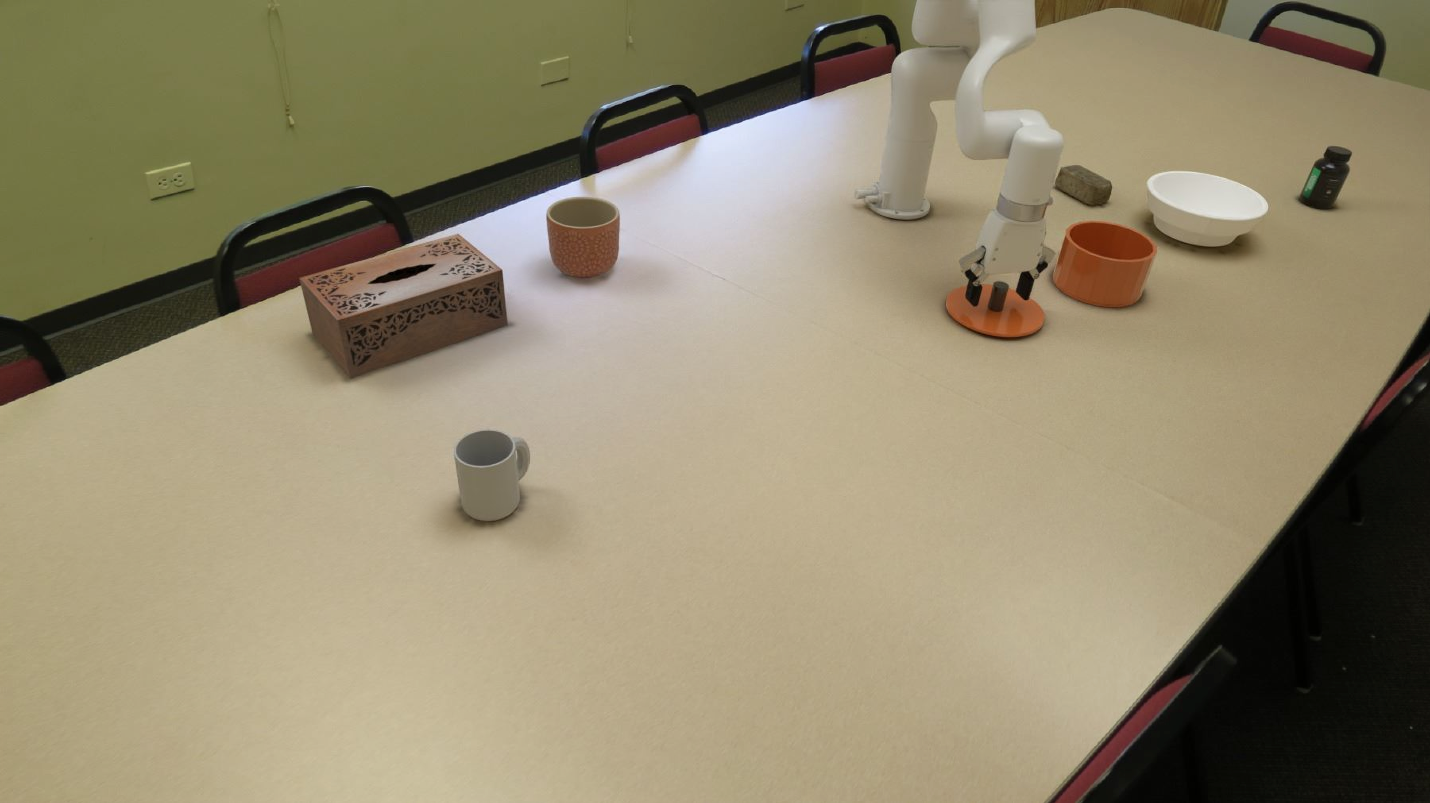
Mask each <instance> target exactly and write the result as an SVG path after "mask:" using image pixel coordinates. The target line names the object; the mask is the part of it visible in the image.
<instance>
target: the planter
mask: <svg viewBox="0 0 1430 803" xmlns="http://www.w3.org/2000/svg"><path fill="white" fill-rule="evenodd" d="M545 214H546V216H545V218H546V229H547V230H546V231H547V238H548V239H547V240H548V249H549V254H550V259H551V261H552V263H553V265H554V266H555V268H557V269H558V270H559V271H560V272H562V273H563V274H565V275H567V276H569V277H572V278H577V279H593V278H594V279H595V278H597V277H600V276H602V275H605V274H606V273H607V272H609V271H610V270H611V269H612V268H613V267H615V264H616V263H617V260H618V256H619V250H620V233H621V232H620V230H621V229H620V228H621V215H620V214H621V213H620V210H619V208H618V207H617V205H616V204H614V203H613V202H611V201H609V200H607V199H603V198H599V197H594V196H572V197H567V198H563V199H559V200H556V201H555V202H553V203H552V204H550V205H549V206H548V207H547V209H546V213H545Z"/></svg>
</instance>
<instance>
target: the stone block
mask: <svg viewBox="0 0 1430 803" xmlns="http://www.w3.org/2000/svg"><path fill="white" fill-rule="evenodd" d="M1054 185H1055V186H1056V187H1057V189H1058V190H1061V191H1062V192H1064V193H1066V194H1068V195H1069V196H1071V197H1073V198H1075V199H1077V200H1078V201H1080V202H1081V203H1084V204H1087V205H1090V206H1095V205H1102V204H1104V203H1107V202H1108V201H1109V200H1110V198H1111V195H1112V190H1113V184H1112V182H1111V180H1110V179H1109V180H1108V179H1107V178H1105V177H1103V176H1101V175H1100V174H1098V173H1096V172H1093V171H1091V170H1090V169H1088V168H1086V167H1084V166H1082V165H1079V164H1073V165H1072V164H1071V165H1066V166H1060V169H1059V172H1057V175H1056V177H1055V179H1054Z"/></svg>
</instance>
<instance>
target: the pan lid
mask: <svg viewBox="0 0 1430 803" xmlns="http://www.w3.org/2000/svg"><path fill="white" fill-rule="evenodd" d="M967 285H968V284H966V285H961V286H959V287H955V289H953V290H952V291H950V293H948V295H947V296H946V301H945V307H946V310H947V312H948V314H949V315H950V317H952V319H954V320H955V321H956V322H958V323H959V324H961V325H962V326H964V327H966V328H968V329H969V330H972V331H975V332H978V333H981V334H985V335H987V336H994V337H1000V338H1017V337H1019V338H1020V337H1026V336H1028V335H1032V334H1034V333H1036V332H1037V331H1039V330H1040V329H1041V328H1042V326H1043V324H1044V321H1045V313H1044V310H1043V308H1042V307H1041V306H1040V305H1039V303H1038V302H1036V301H1035V300H1034V299H1033V298H1032V297H1031V296H1030V297H1029V300H1026V301H1025V300H1023V299H1022V298H1021V297H1020V296H1019V295H1018V294H1017V293H1016V289H1012V288H1010V285H1009V283H1007V282H1005V281H1002V280H1001V281H1000V280H997V281H994V282H993V283H992V284H991V283H990V284H989V283H981V285H982V287H983V288H982V292H981V296H980V300H979V304H978V305H977V306H976V307H973V306H972V305H971V304H970V302H969V301H968V300H967V299H966V297H965V293H966V289H967Z"/></svg>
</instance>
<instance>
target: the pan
mask: <svg viewBox="0 0 1430 803" xmlns="http://www.w3.org/2000/svg"><path fill="white" fill-rule="evenodd" d="M1157 254H1158V247H1157V245H1156V243H1155V242H1154V240H1152V238H1150V237H1149V236H1148V235H1146V234H1144V233H1143V232H1141V231H1139V230H1137V229H1134V228H1132V227H1129V226H1126V225H1123V224H1120V223H1115V222H1110V221H1102V220H1086V221H1085V220H1084V221H1078V222H1075V223H1072V224H1070V225H1069V226H1068V227H1067V228H1066V229H1065V232H1064V236H1063V238H1062V242H1061V246H1060V248H1059V252H1058V255H1057V258H1056V262H1055V266H1054V269H1053V272H1052V273H1053V274H1052V281H1053V283H1054V285H1055V286H1056V288H1057V289H1058V290H1060V291H1061V292H1062V293H1063V294H1064V295H1066V296H1068V297H1070V298H1072V299H1074V300H1077V301H1080V302H1082V303H1085V304H1088V305H1092V306H1097V307H1103V308H1122V307H1129V306H1131V305H1133V304H1135V303H1137V302H1138V301H1139V300H1140V298H1141V296H1142V294H1143V292H1144V289H1145V286H1146V284H1147V281H1148V278H1149V276H1150V273H1151V270H1152V267H1153V265H1154V262H1155V260H1156V256H1157Z"/></svg>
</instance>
